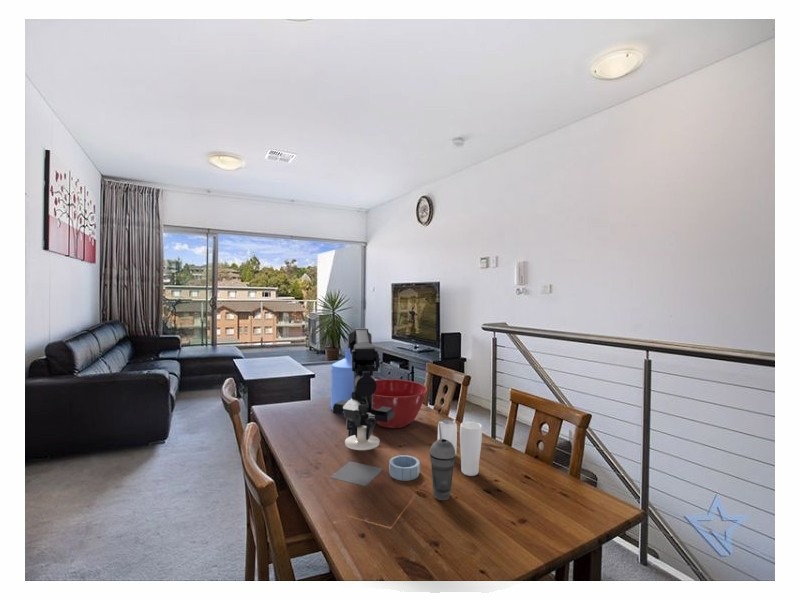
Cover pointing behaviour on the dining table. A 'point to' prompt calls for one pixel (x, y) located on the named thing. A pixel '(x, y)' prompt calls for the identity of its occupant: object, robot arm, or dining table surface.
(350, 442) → the lid
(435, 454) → the beverage cup
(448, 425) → the can
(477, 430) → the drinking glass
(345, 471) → the mat
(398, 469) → the bowl
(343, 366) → the water jug
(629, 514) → the dining table surface
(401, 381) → the mixing bowl
